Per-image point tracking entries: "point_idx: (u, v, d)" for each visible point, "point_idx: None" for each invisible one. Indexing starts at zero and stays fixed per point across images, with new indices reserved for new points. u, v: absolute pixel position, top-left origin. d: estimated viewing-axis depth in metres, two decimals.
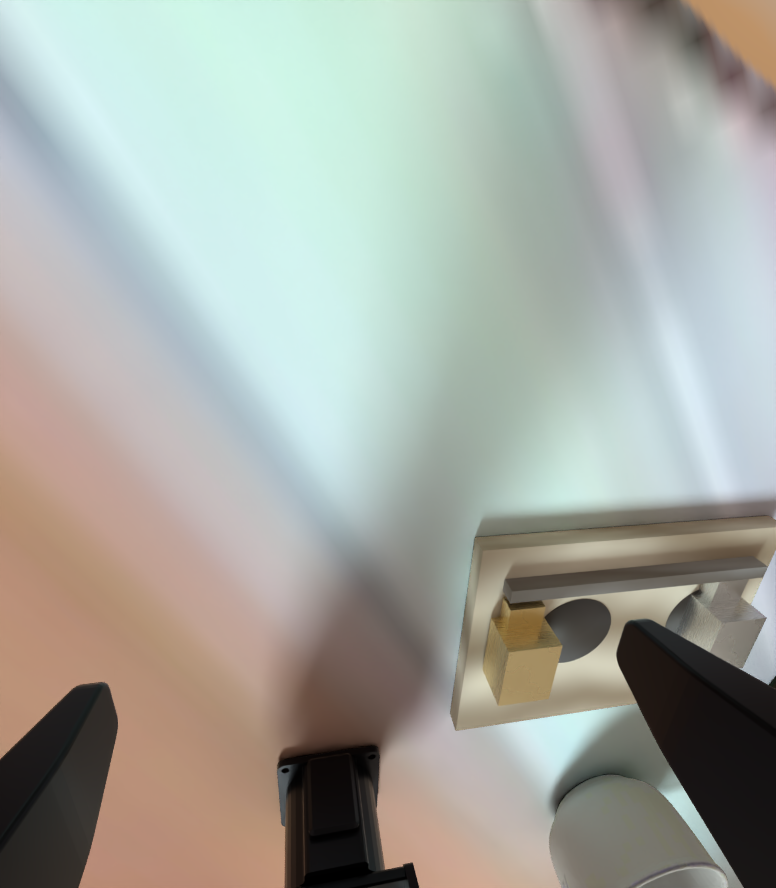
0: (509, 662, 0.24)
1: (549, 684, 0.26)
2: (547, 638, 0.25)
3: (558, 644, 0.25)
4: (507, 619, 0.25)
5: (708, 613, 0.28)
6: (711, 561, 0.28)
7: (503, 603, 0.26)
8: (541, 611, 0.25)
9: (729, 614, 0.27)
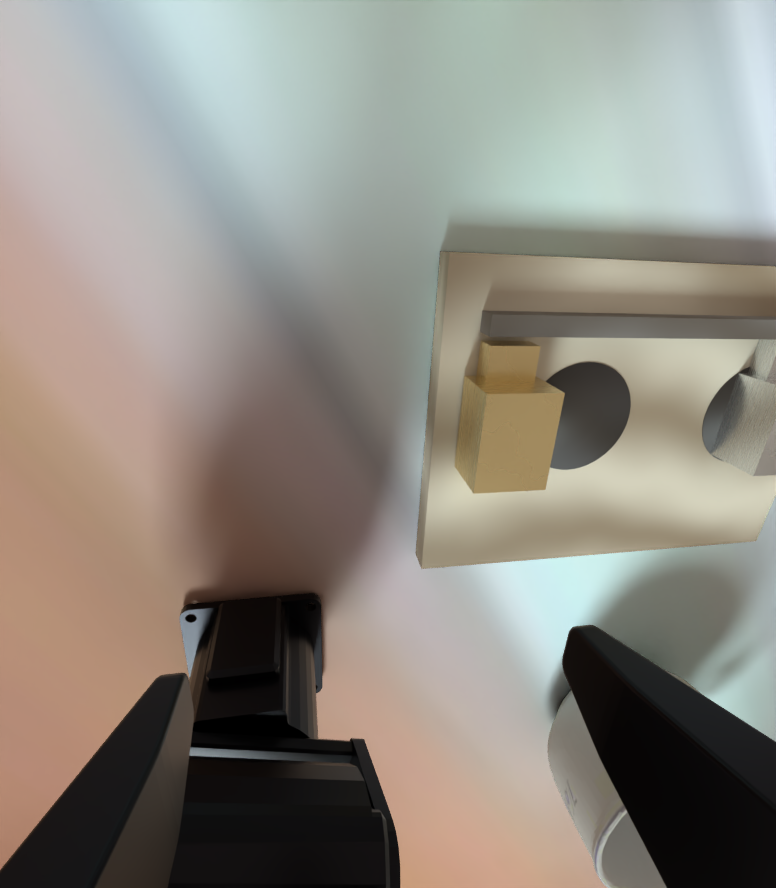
0: (488, 413, 0.17)
1: (546, 463, 0.18)
2: (543, 388, 0.18)
3: (558, 392, 0.17)
4: (485, 366, 0.18)
5: (765, 386, 0.20)
6: (768, 317, 0.20)
7: (481, 348, 0.18)
8: (534, 354, 0.18)
9: None
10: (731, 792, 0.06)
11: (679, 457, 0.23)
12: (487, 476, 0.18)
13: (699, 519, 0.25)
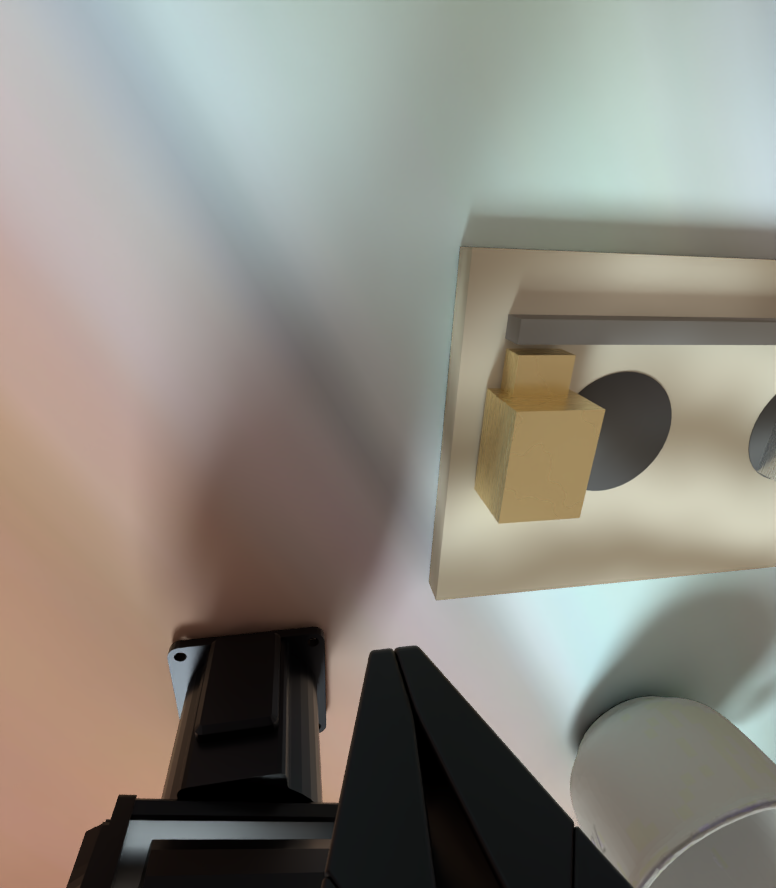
0: (517, 433, 0.15)
1: (581, 488, 0.16)
2: (579, 404, 0.15)
3: (598, 408, 0.15)
4: (512, 379, 0.16)
5: None
6: None
7: (506, 358, 0.16)
8: (569, 364, 0.16)
9: None
10: (470, 844, 0.05)
11: (722, 475, 0.20)
12: (514, 504, 0.16)
13: (741, 542, 0.22)
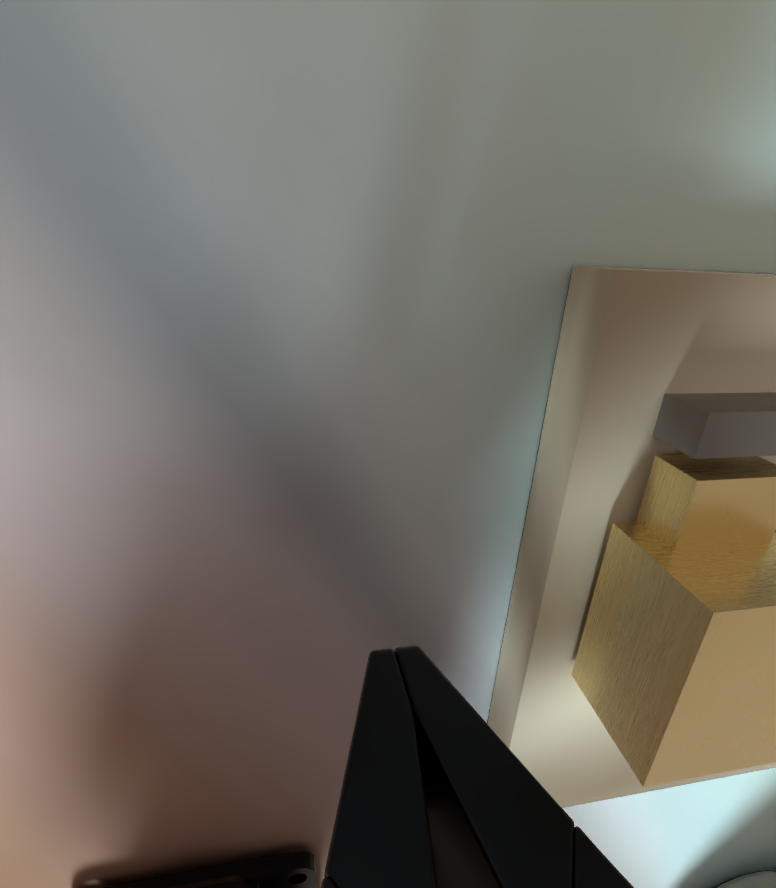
0: (707, 648, 0.07)
1: None
2: None
3: None
4: (674, 518, 0.08)
5: None
6: None
7: (656, 473, 0.09)
8: None
9: None
10: (469, 844, 0.05)
11: None
12: (677, 756, 0.08)
13: None
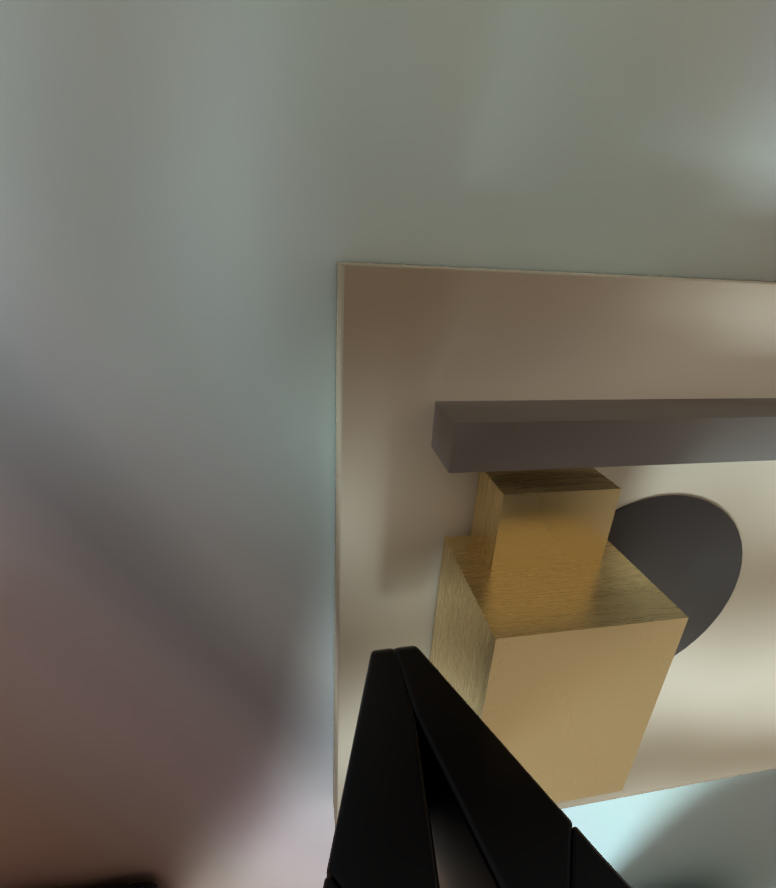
0: (499, 676, 0.07)
1: (629, 748, 0.08)
2: (629, 594, 0.07)
3: (672, 612, 0.07)
4: (491, 534, 0.08)
5: None
6: None
7: (480, 485, 0.08)
8: (606, 506, 0.08)
9: None
10: (468, 845, 0.05)
11: None
12: None
13: None
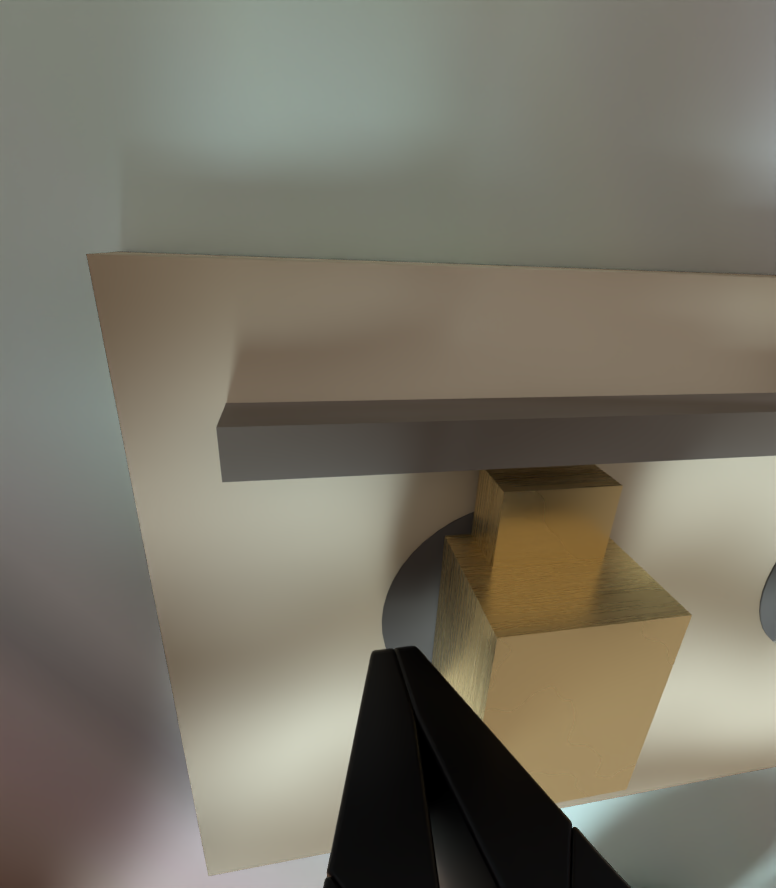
0: (501, 675, 0.07)
1: (633, 747, 0.08)
2: (632, 592, 0.07)
3: (676, 609, 0.07)
4: (492, 532, 0.08)
5: None
6: None
7: (481, 483, 0.08)
8: (608, 504, 0.08)
9: None
10: (467, 845, 0.05)
11: (713, 651, 0.12)
12: None
13: (746, 737, 0.13)
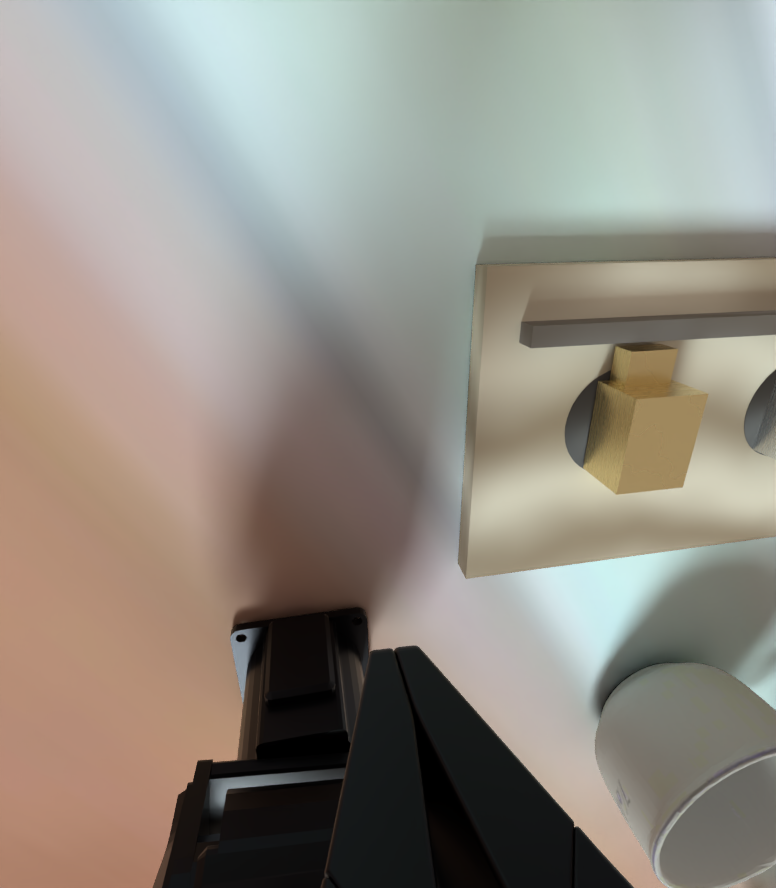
0: (636, 417, 0.17)
1: (685, 461, 0.19)
2: (684, 390, 0.18)
3: (702, 392, 0.18)
4: (624, 371, 0.18)
5: None
6: None
7: (616, 354, 0.19)
8: (672, 357, 0.18)
9: None
10: (470, 844, 0.05)
11: (721, 454, 0.22)
12: (630, 477, 0.19)
13: (742, 514, 0.24)
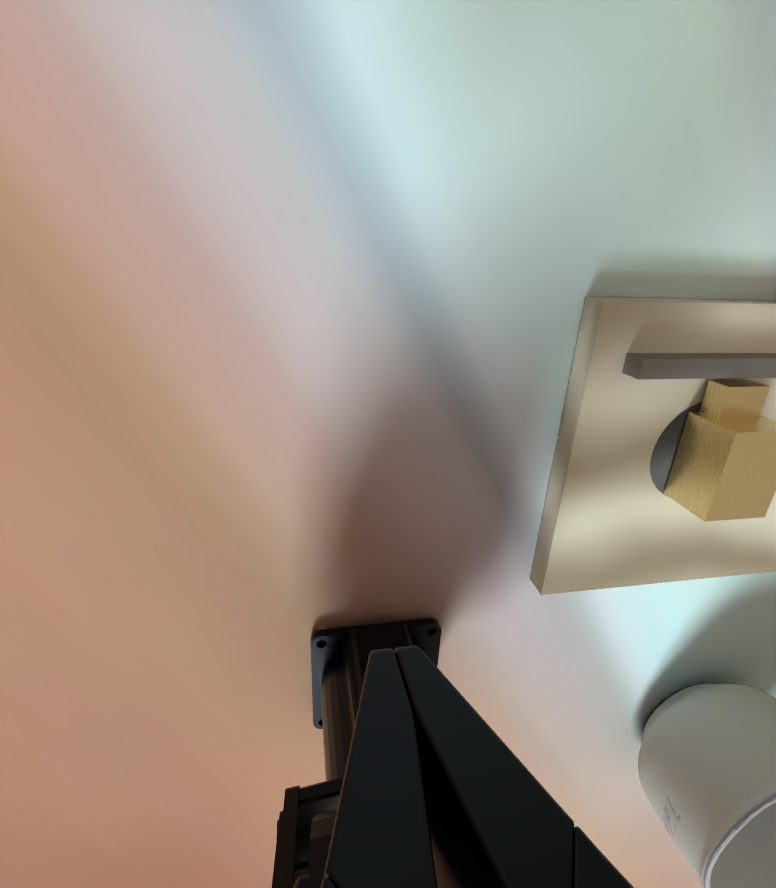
0: (733, 449, 0.18)
1: (771, 493, 0.20)
2: (775, 425, 0.19)
3: None
4: (718, 405, 0.19)
5: None
6: None
7: (709, 388, 0.20)
8: (764, 393, 0.19)
9: None
10: (470, 845, 0.05)
11: None
12: (719, 506, 0.19)
13: None
